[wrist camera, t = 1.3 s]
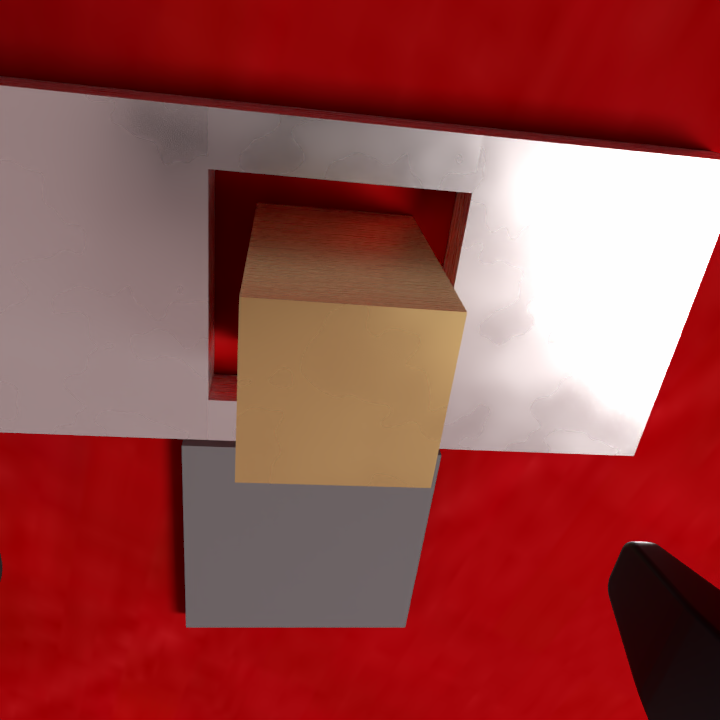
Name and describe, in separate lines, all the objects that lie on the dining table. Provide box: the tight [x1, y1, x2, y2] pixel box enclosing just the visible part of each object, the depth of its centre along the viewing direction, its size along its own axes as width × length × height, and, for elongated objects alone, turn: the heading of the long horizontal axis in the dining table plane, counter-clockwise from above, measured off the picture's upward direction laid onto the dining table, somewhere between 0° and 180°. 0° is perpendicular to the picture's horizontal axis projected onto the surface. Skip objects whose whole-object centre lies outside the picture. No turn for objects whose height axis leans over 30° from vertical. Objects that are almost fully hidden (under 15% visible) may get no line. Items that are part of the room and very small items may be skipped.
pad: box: [182, 439, 441, 627], centre depth 25 cm, size 9×9×1 cm
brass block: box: [235, 202, 467, 488], centre depth 17 cm, size 5×5×7 cm
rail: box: [0, 76, 720, 456], centre depth 19 cm, size 22×10×2 cm, turn 84°
